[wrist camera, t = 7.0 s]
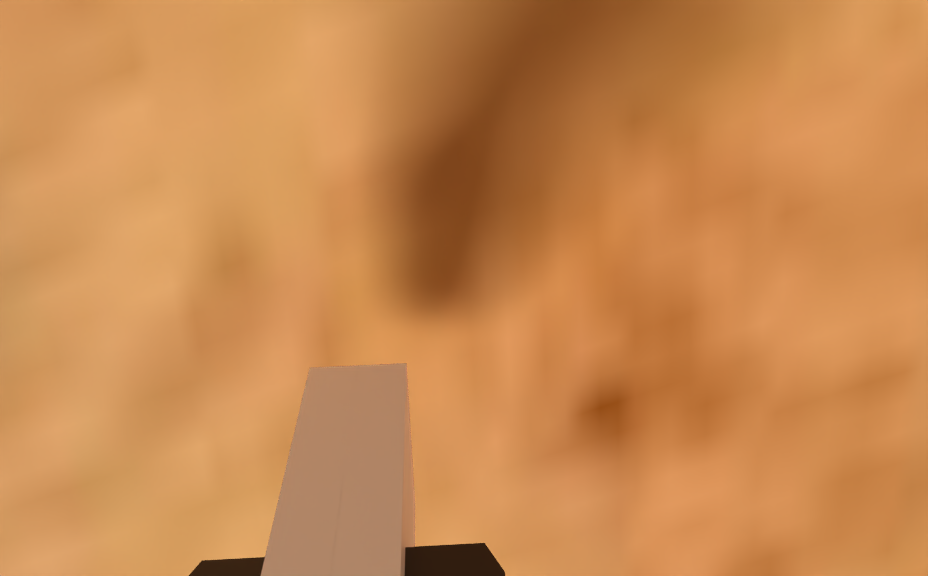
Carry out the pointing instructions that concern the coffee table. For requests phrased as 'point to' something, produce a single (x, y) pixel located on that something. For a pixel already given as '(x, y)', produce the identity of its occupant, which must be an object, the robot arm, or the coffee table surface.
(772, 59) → the coffee table surface
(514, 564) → the coffee table surface
